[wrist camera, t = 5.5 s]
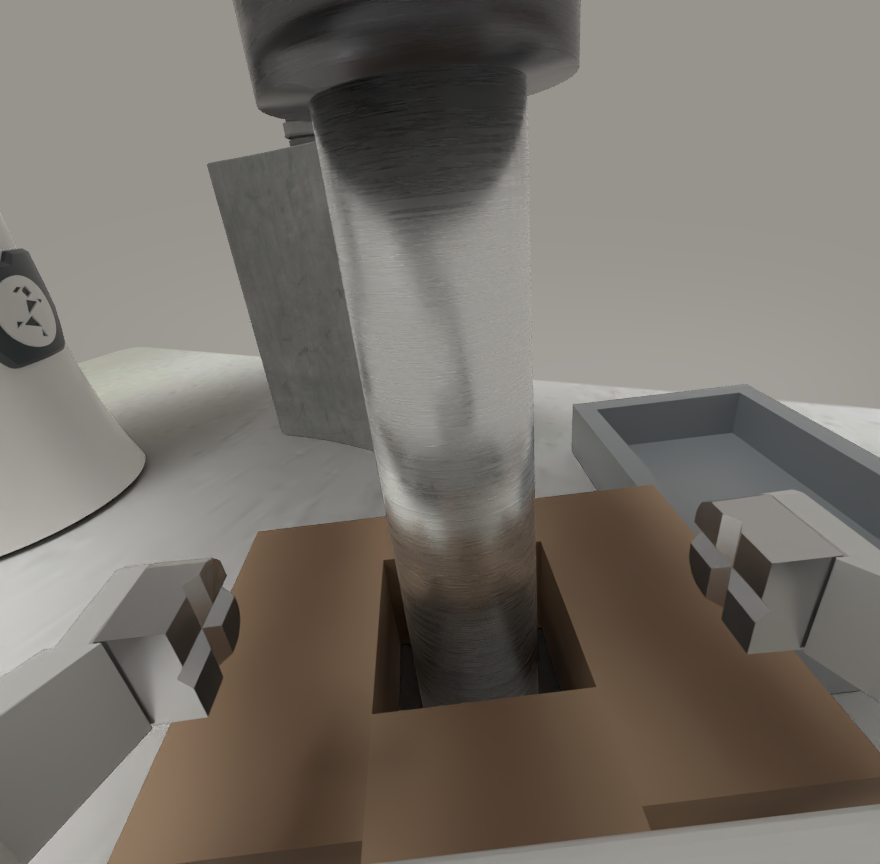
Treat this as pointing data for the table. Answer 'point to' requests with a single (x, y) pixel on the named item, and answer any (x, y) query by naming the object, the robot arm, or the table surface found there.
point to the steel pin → (435, 290)
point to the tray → (728, 459)
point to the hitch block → (490, 711)
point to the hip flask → (294, 287)
